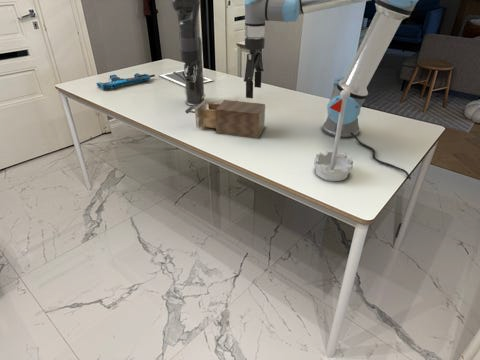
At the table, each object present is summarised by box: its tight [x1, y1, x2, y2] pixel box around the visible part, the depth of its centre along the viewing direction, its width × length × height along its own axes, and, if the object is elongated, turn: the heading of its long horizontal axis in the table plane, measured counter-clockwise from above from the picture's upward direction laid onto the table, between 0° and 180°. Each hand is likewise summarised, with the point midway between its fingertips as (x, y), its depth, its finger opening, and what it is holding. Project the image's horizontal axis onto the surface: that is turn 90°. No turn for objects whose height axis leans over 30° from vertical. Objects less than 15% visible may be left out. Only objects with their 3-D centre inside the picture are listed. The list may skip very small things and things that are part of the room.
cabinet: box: [215, 99, 266, 139], centre depth 148 cm, size 19×12×11 cm, turn 74°
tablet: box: [158, 69, 214, 88], centre depth 216 cm, size 32×20×1 cm, turn 41°
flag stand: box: [313, 89, 354, 182], centre depth 112 cm, size 13×13×30 cm
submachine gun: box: [95, 72, 156, 91], centre depth 209 cm, size 34×4×25 cm
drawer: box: [184, 100, 221, 129], centre depth 151 cm, size 23×10×9 cm, turn 74°
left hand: (193, 90), depth 147 cm, fingers closed
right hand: (253, 92), depth 140 cm, fingers open, 13 cm apart
